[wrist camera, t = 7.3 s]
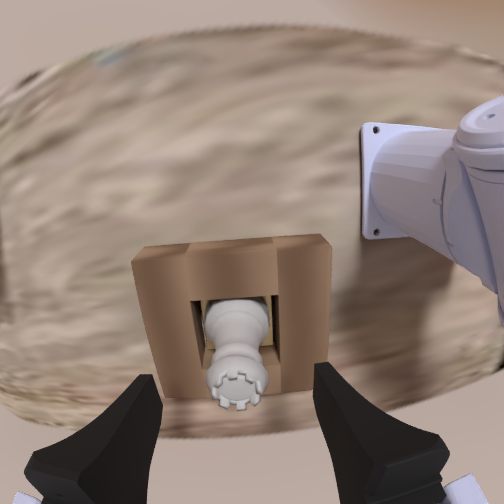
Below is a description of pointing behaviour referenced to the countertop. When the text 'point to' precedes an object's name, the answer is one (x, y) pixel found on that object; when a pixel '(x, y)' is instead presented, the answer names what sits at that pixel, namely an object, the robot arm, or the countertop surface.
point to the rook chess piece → (237, 350)
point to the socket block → (236, 286)
